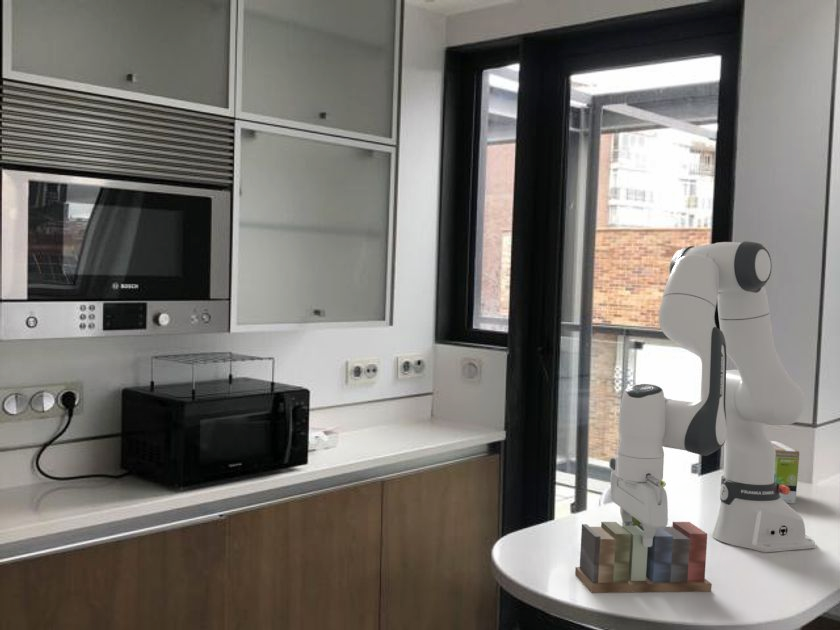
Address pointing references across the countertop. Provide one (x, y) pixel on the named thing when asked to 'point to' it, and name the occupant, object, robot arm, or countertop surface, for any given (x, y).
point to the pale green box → (637, 555)
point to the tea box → (786, 469)
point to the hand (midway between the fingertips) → (636, 538)
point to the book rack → (666, 559)
